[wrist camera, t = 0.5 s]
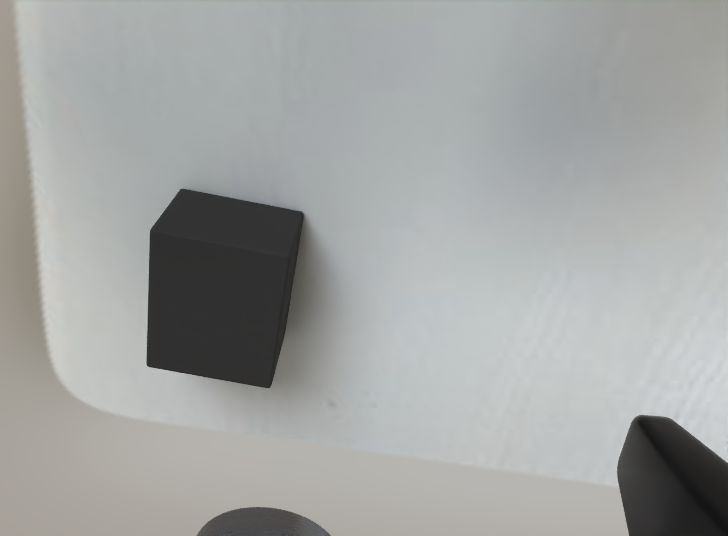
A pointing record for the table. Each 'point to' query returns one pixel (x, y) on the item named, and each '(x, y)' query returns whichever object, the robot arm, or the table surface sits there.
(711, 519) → the robot arm
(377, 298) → the table surface
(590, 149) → the table surface
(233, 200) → the black rectangular block
